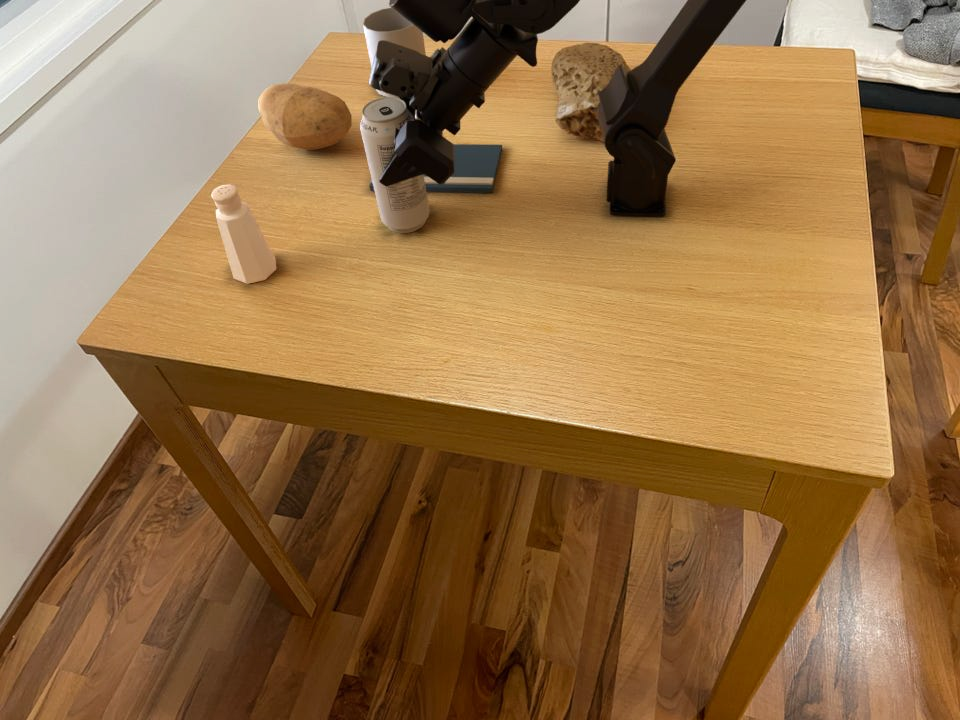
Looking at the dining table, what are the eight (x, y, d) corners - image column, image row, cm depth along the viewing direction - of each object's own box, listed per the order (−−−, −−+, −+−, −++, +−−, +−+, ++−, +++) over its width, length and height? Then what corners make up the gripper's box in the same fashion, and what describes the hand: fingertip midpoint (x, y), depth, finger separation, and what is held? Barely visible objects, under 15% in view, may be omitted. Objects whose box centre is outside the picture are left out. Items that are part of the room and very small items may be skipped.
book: (502, 149, 101) (502, 142, 100) (492, 193, 94) (491, 185, 93) (388, 148, 103) (386, 141, 103) (370, 190, 97) (368, 183, 96)
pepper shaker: (224, 268, 88) (190, 190, 80) (265, 248, 90) (236, 170, 82) (243, 291, 85) (210, 212, 77) (286, 269, 87) (257, 190, 79)
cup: (427, 96, 112) (417, 29, 105) (373, 99, 113) (360, 34, 106) (430, 69, 118) (421, 4, 111) (379, 73, 119) (367, 9, 111)
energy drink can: (418, 200, 94) (398, 88, 83) (438, 224, 91) (420, 111, 80) (375, 216, 93) (348, 105, 82) (393, 242, 89) (368, 129, 78)
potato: (333, 172, 100) (319, 118, 94) (254, 151, 106) (236, 98, 100) (374, 136, 106) (363, 83, 100) (298, 117, 111) (283, 66, 105)
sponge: (631, 154, 100) (649, 55, 109) (621, 107, 93) (642, 7, 103) (537, 160, 105) (562, 66, 114) (522, 117, 98) (550, 21, 108)
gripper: (410, -20, 80) (332, 87, 89) (401, 61, 67) (312, 176, 76) (489, 45, 85) (409, 140, 94) (495, 131, 73) (402, 231, 81)
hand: (384, 168), depth 86 cm, fingers closed on energy drink can, 6 cm apart
